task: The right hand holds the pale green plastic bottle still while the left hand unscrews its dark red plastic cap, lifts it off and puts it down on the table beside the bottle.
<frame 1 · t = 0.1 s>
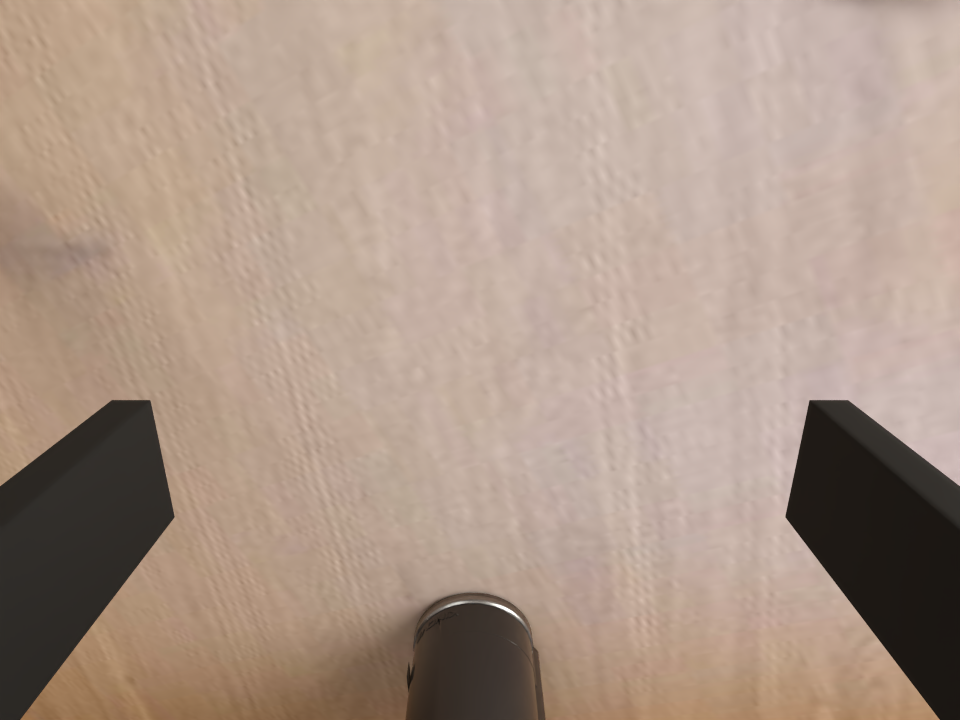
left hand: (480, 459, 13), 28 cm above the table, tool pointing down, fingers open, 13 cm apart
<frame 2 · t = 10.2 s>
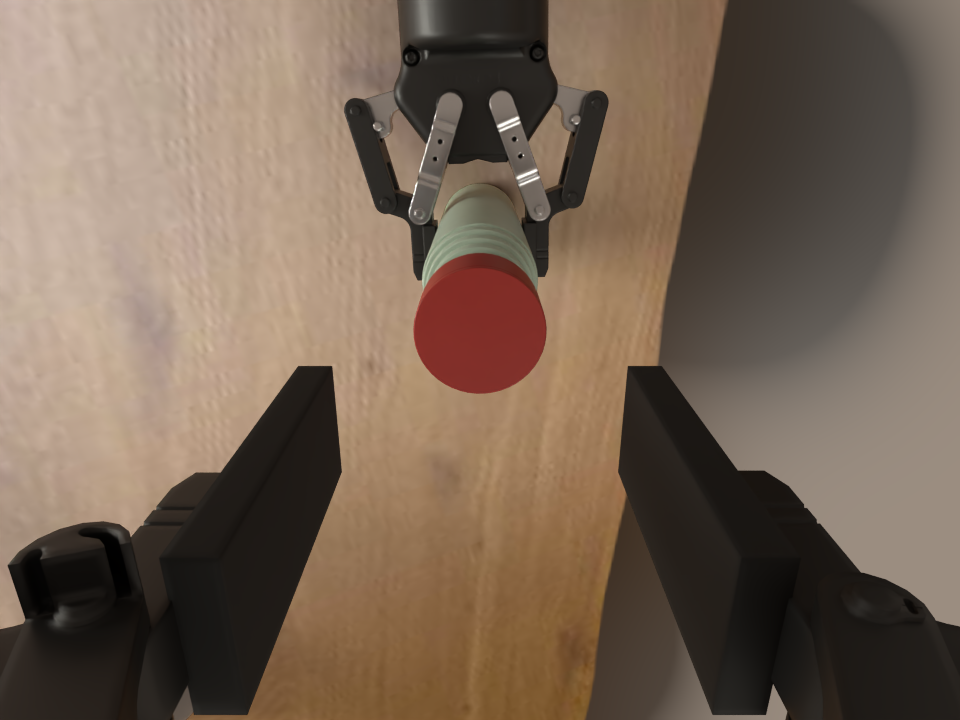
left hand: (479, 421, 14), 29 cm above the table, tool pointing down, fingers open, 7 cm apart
right hand: (481, 284, 37), fingers closed on bottle, 5 cm apart
cap: (479, 330, 21), point 23 cm above the table, screwed on, not yet turned
bottle: (480, 221, 42), on the table, touching right hand
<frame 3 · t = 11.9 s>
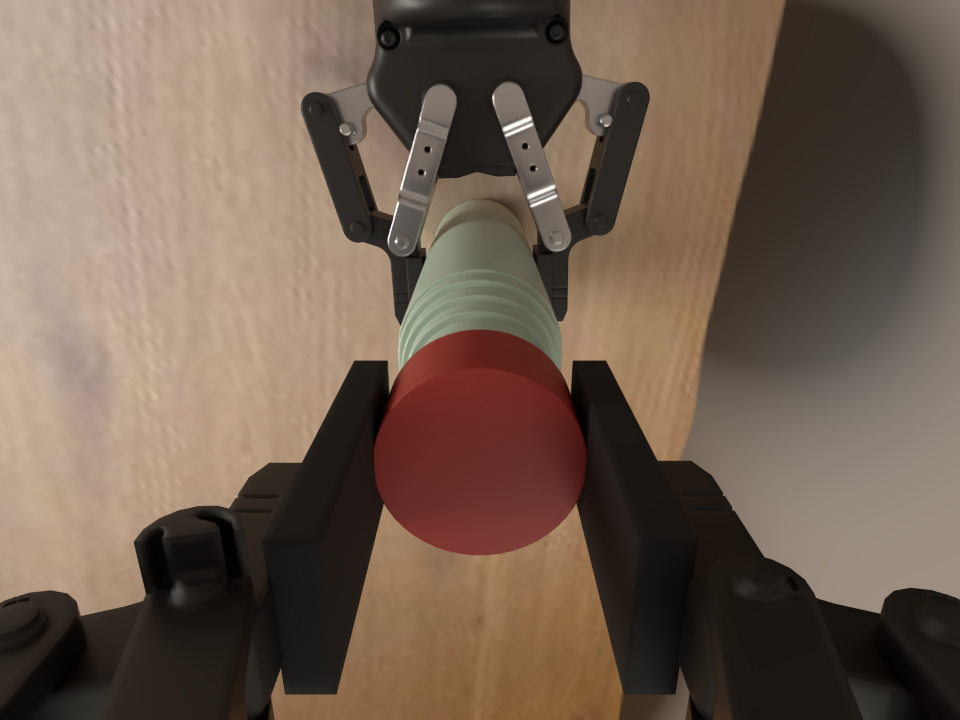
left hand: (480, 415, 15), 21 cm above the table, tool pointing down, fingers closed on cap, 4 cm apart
cap: (480, 459, 13), point 23 cm above the table, screwed on, not yet turned, touching left hand
bottle: (479, 245, 34), on the table, touching right hand
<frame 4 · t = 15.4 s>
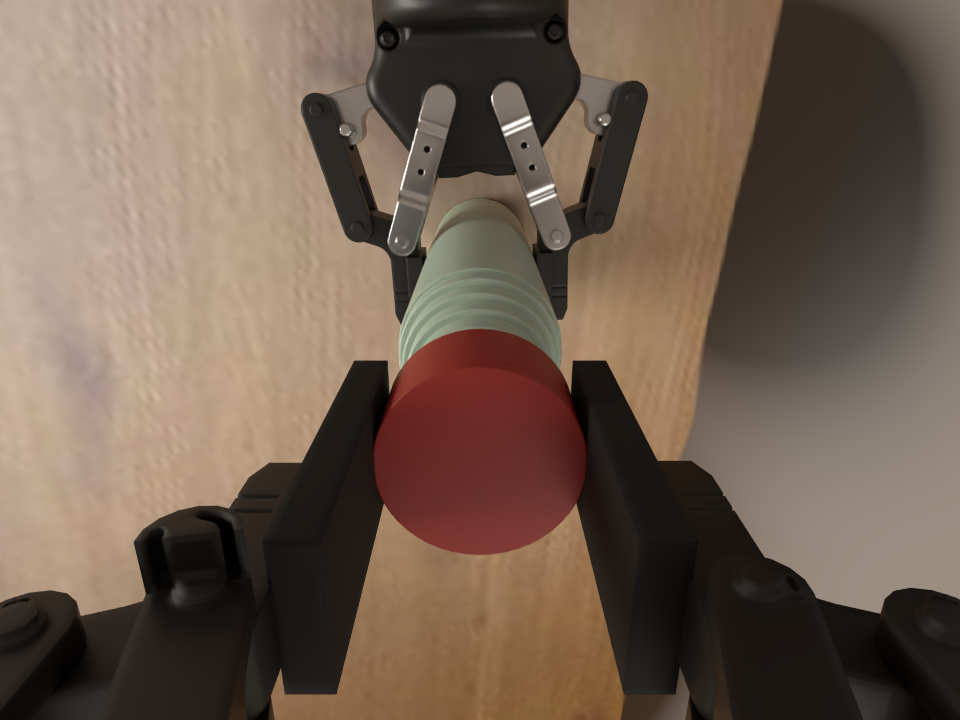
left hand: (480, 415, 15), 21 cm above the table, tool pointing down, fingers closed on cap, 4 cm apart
cap: (480, 459, 13), point 23 cm above the table, turned 107° so far, risen 0.1 cm, still on its thread, touching left hand
bottle: (479, 244, 34), on the table, touching right hand
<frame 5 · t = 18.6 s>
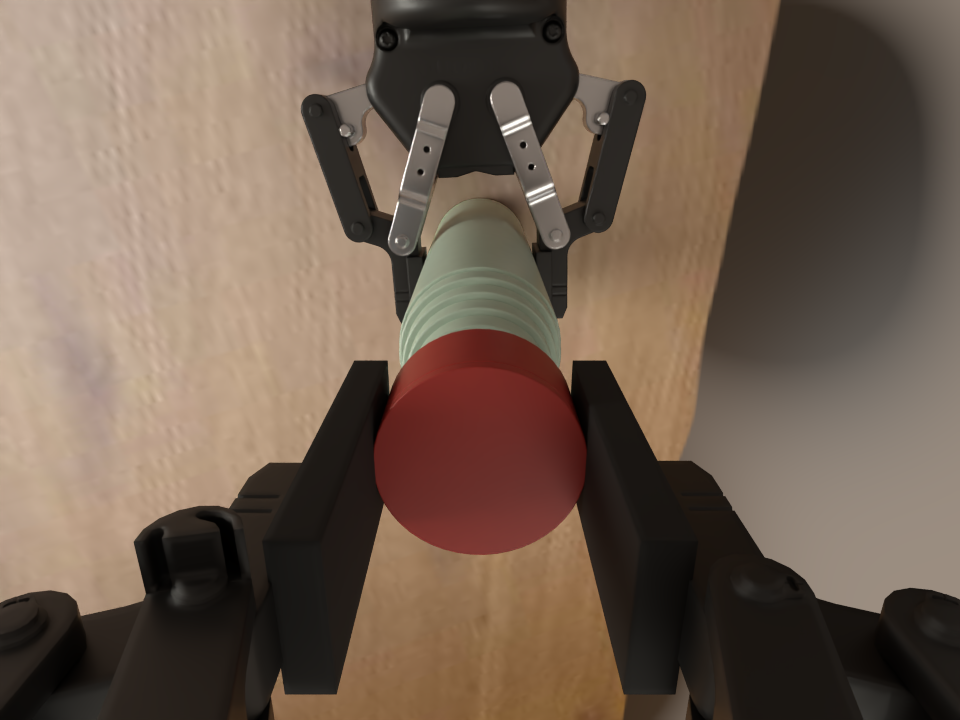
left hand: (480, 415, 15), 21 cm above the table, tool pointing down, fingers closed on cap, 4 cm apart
cap: (480, 459, 13), point 23 cm above the table, turned 215° so far, risen 0.3 cm, still on its thread, touching left hand
bottle: (480, 244, 34), on the table, touching right hand
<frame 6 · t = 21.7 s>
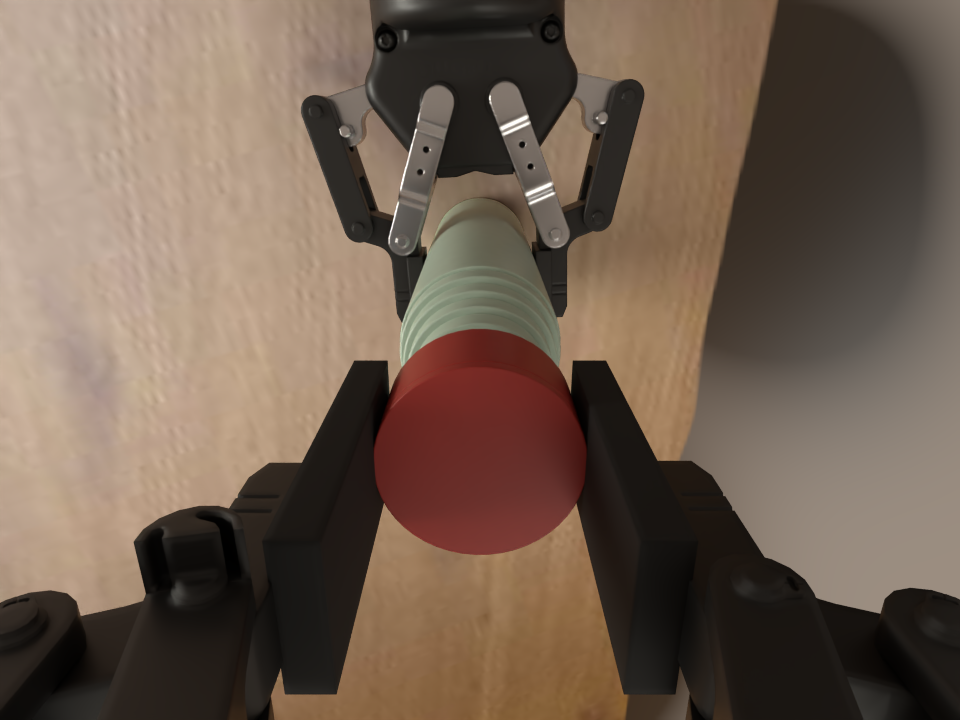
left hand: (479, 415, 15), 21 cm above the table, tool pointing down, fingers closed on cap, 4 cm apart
cap: (480, 459, 13), point 23 cm above the table, turned 322° so far, risen 0.4 cm, still on its thread, touching left hand
bottle: (480, 243, 35), on the table, touching right hand
when the left hand's fingers open (1 cm above the table, at t = 29.0 s): cap drops 2 cm, point 2 cm above the table.
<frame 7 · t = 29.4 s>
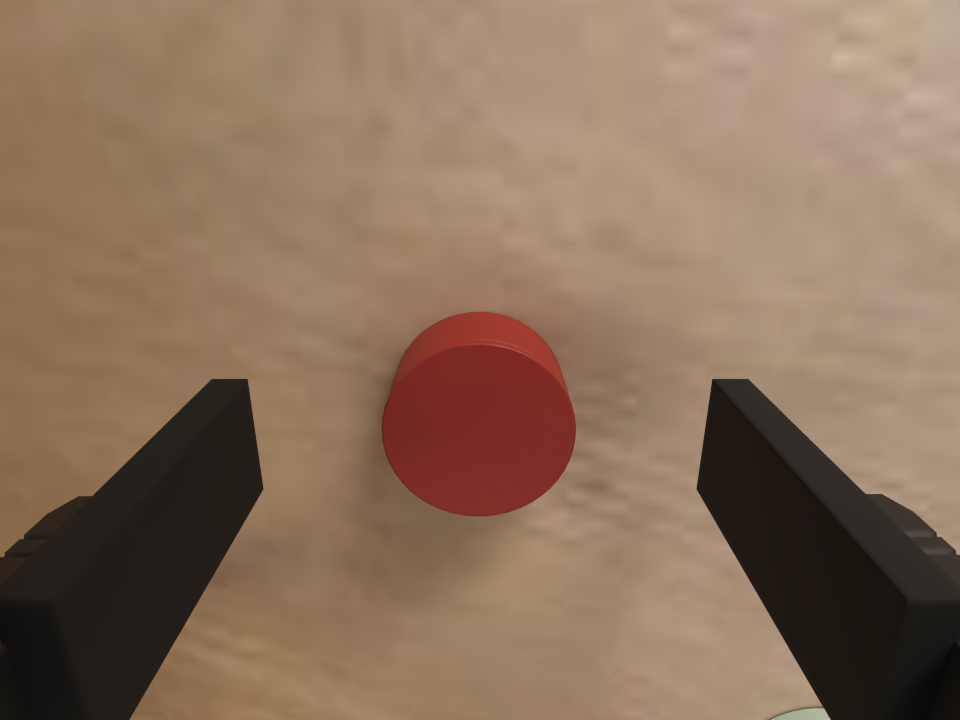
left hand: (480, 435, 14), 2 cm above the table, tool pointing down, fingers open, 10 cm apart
cap: (478, 428, 14), point 2 cm above the table, off its thread
when the right hand's fingers open (7 cm above the table, at t = 30.3 s): bottle stays where it is, on the table.
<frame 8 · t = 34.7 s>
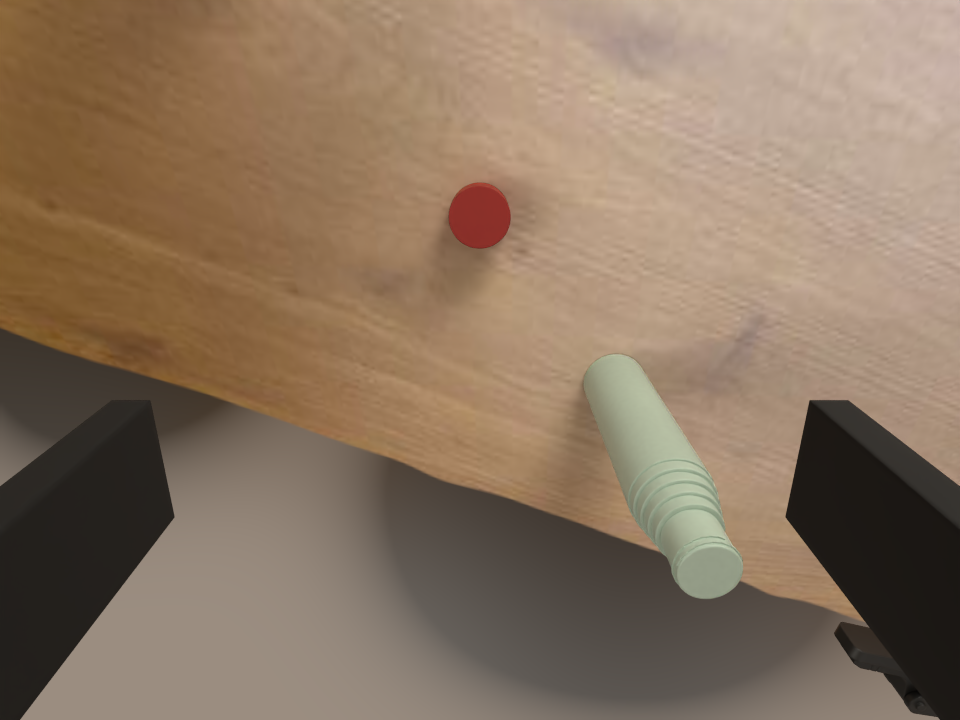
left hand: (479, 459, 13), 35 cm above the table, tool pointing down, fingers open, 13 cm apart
cap: (479, 217, 44), point 2 cm above the table, off its thread
bottle: (613, 382, 51), on the table
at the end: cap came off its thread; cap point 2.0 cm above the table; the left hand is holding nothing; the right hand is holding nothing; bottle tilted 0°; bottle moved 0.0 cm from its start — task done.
